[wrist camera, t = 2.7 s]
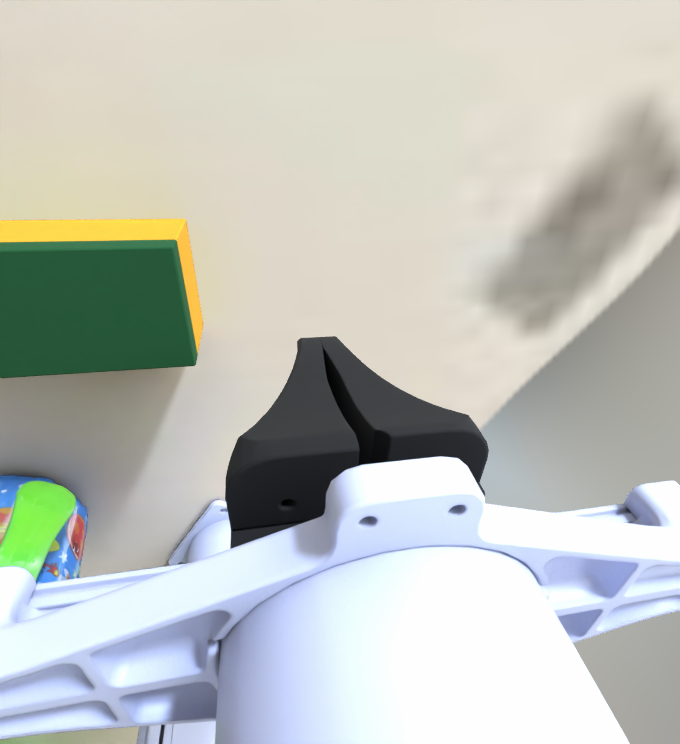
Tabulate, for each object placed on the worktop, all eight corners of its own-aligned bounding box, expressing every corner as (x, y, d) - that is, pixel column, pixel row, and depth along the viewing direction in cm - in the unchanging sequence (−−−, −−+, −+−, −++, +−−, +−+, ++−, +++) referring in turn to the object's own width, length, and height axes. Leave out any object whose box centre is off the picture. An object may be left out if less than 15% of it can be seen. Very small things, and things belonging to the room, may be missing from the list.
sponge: (186, 218, 19) (173, 246, 16) (203, 324, 22) (195, 366, 19) (-10, 220, 18) (-67, 251, 15) (38, 332, 21) (-1, 379, 18)
